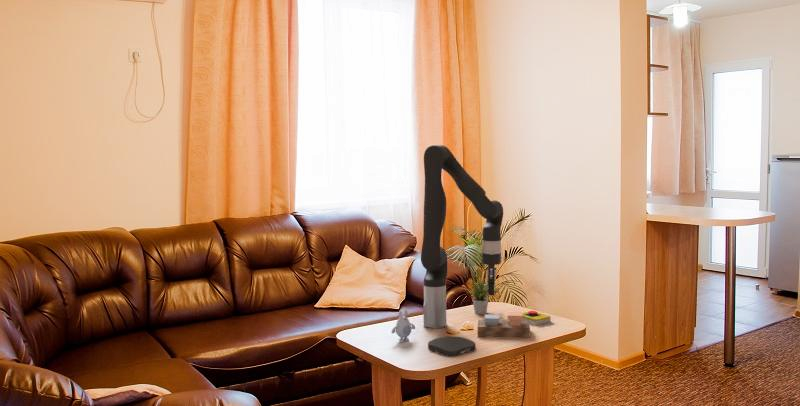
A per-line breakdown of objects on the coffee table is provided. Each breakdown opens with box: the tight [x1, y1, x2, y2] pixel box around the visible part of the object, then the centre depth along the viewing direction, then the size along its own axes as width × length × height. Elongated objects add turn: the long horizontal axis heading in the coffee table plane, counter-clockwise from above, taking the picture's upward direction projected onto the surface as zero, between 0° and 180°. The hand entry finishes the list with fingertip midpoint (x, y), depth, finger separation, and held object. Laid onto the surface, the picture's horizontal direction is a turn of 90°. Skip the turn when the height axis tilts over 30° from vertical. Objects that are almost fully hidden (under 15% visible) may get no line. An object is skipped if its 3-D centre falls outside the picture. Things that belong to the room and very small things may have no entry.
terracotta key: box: [507, 311, 523, 326], centre depth 231 cm, size 6×6×4 cm
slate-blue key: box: [484, 313, 500, 325], centre depth 232 cm, size 6×6×4 cm
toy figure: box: [391, 309, 416, 343], centre depth 225 cm, size 11×6×12 cm, turn 121°
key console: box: [477, 319, 531, 339], centre depth 232 cm, size 20×10×4 cm, turn 81°
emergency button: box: [521, 310, 555, 328], centre depth 248 cm, size 9×4×15 cm
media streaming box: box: [427, 336, 477, 358], centre depth 215 cm, size 15×15×3 cm
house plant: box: [467, 276, 496, 315], centre depth 261 cm, size 14×14×16 cm
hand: (491, 294), depth 231 cm, fingers closed
